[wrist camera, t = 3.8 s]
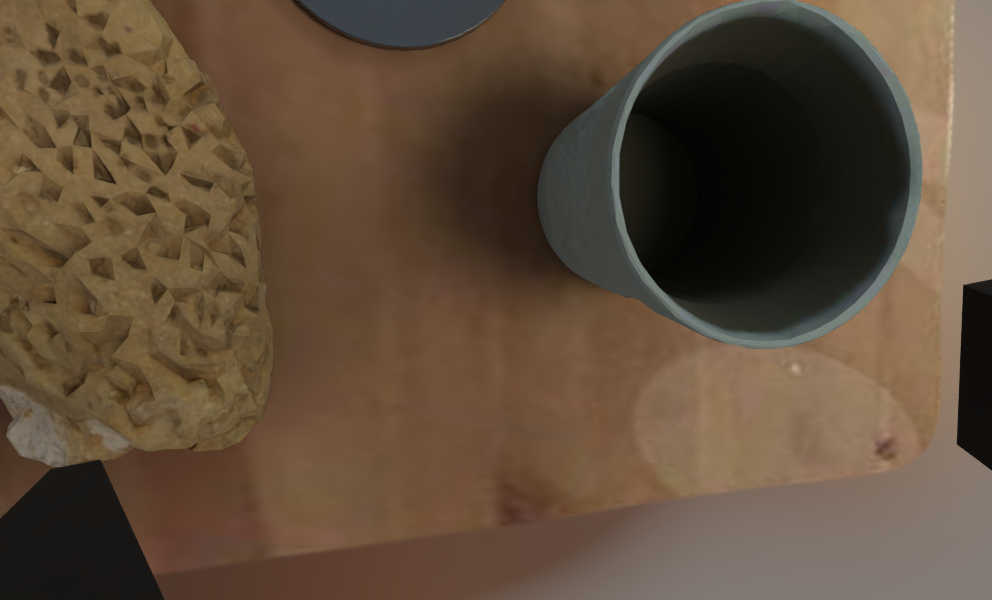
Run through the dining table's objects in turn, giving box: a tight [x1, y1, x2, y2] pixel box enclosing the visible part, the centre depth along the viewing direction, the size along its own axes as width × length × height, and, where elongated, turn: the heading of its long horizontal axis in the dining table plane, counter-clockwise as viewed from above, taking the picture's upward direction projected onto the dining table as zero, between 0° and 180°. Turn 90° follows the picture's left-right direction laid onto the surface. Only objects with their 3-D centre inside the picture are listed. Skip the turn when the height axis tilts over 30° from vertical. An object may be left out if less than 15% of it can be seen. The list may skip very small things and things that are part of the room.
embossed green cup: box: [537, 0, 923, 349], centre depth 25 cm, size 10×10×12 cm
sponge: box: [0, 0, 273, 467], centre depth 23 cm, size 13×8×20 cm
